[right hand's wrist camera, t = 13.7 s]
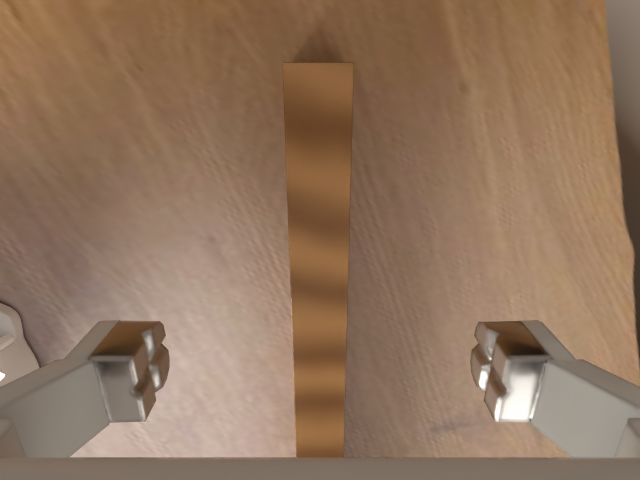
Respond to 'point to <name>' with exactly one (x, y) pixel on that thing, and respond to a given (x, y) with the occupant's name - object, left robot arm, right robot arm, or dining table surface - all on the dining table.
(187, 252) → the dining table surface
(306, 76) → the beam
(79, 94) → the dining table surface
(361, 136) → the dining table surface
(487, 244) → the dining table surface
